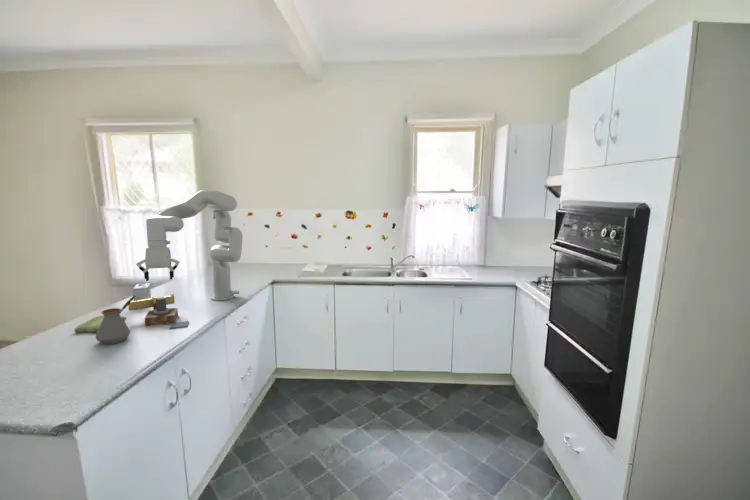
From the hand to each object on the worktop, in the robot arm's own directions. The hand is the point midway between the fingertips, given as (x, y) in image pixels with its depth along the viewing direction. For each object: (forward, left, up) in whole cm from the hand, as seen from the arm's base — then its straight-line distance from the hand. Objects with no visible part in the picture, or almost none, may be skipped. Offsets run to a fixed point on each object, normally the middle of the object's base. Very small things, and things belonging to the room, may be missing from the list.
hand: (159, 279), depth 164 cm
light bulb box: (+13, -32, -21) cm, 40 cm away
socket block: (0, -1, -20) cm, 20 cm away
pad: (-8, +9, -20) cm, 24 cm away
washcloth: (+24, -2, -21) cm, 32 cm away
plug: (0, 0, -20) cm, 20 cm away
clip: (+5, -7, -15) cm, 17 cm away
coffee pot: (+13, +15, -20) cm, 29 cm away
